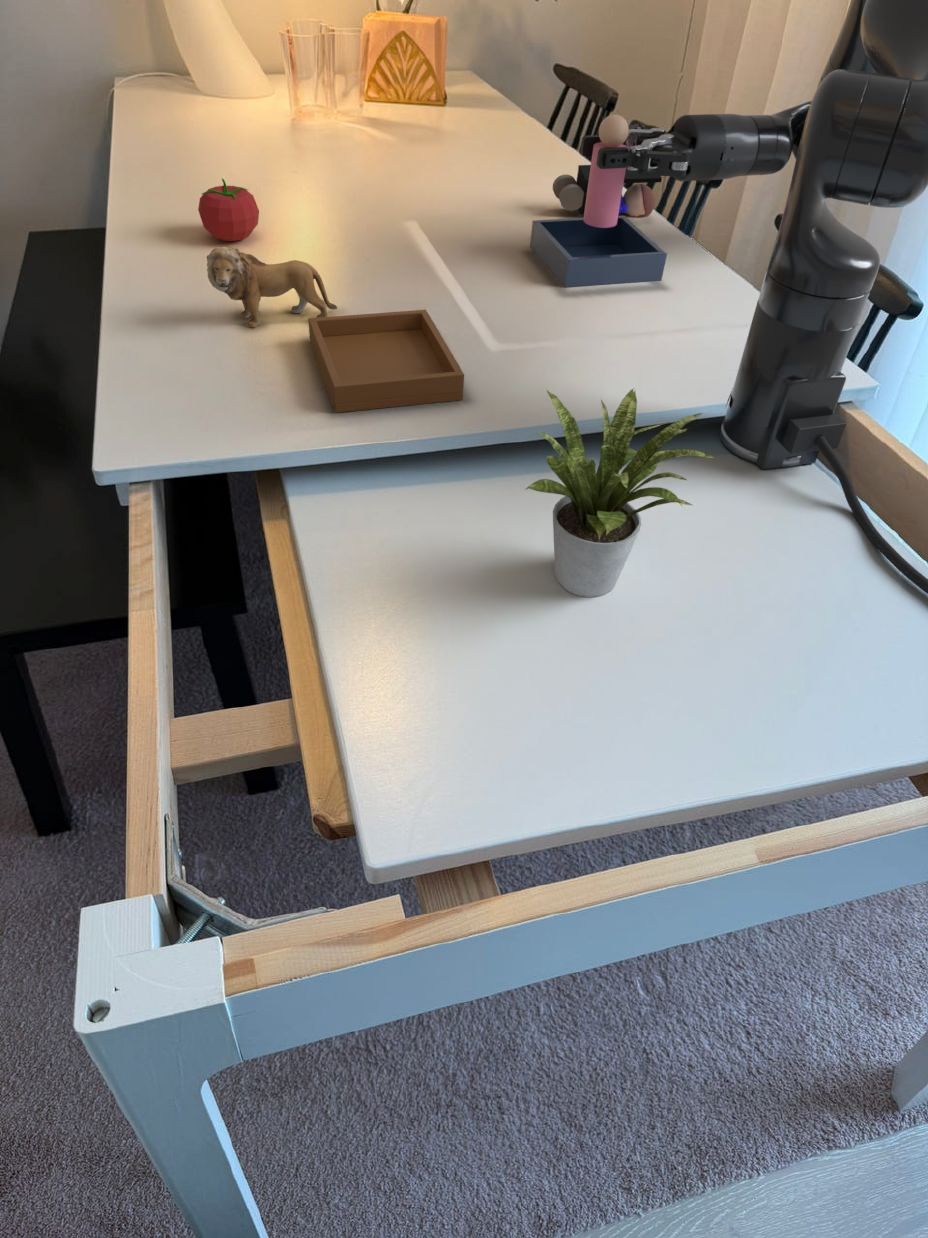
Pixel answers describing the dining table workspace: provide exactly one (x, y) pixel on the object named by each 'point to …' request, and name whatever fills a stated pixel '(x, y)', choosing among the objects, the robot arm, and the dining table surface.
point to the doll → (606, 177)
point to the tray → (384, 360)
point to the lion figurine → (263, 281)
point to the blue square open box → (596, 252)
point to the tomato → (228, 212)
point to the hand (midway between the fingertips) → (590, 152)
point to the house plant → (603, 496)
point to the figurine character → (632, 203)
